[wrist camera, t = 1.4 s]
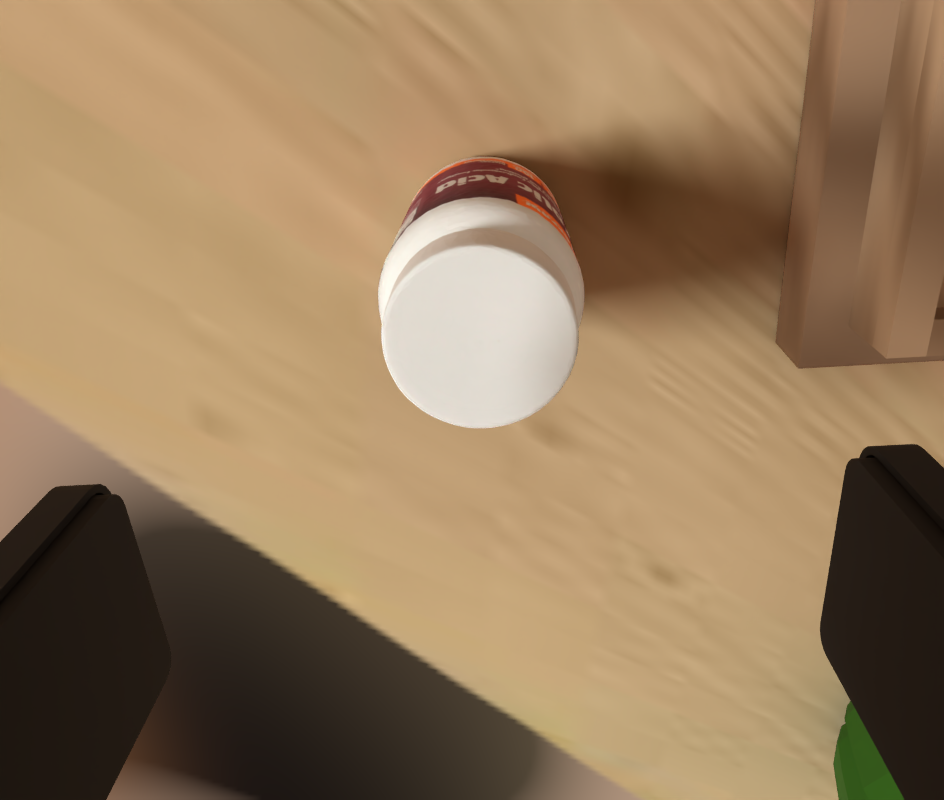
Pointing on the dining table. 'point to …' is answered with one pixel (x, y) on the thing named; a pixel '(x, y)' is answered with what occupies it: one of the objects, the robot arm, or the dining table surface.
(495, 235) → the pill bottle
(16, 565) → the robot arm
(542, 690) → the dining table surface
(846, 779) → the bell pepper
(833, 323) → the plinth
